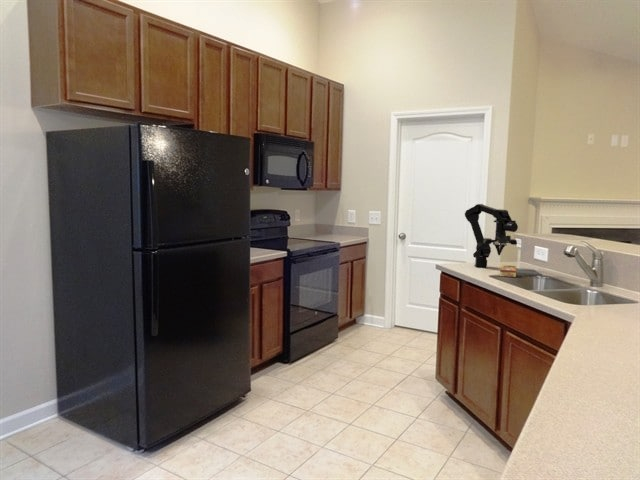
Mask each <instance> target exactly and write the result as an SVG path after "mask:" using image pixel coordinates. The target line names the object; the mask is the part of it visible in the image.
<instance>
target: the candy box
mask: <svg viewBox="0 0 640 480" xmlns="http://www.w3.org/2000/svg"><path fill="white" fill-rule="evenodd" d="M516 269H517V267H516V265H505V264H502V265H500V266H499V276H500V277H506V278H507V277H509V278H516V277H517V274H516Z"/></svg>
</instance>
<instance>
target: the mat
mask: <svg viewBox="0 0 640 480" xmlns="http://www.w3.org/2000/svg"><path fill="white" fill-rule="evenodd" d="M516 275H531V276H533V275H534V276H543V274H542V273H541V272H539V271H537V270H535V269H528V268H527V269H526V268H523V269H522V268H516Z"/></svg>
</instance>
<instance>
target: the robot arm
mask: <svg viewBox="0 0 640 480" xmlns="http://www.w3.org/2000/svg"><path fill="white" fill-rule="evenodd" d="M481 213H485V214H488V215H491V216H492V217H493V218H494V220H493V223H496V225H495V232H494V233H495V237H494V239H492V238H490V237H489V238H488V237H487V238H486V237H484V235H483V232H482V229H481V225H480V223H479V219H480V214H481ZM464 217H465V219H466V221H468V222H469V224H470V226H471V228H472V233H473V235H474V237H475V239H474V240H475V241H476V247H475V249H476V251H475V252H474V253H473V254H472V255H473V258H475V259H474V260H475V261H474V267H475V268H484V269H485V268H488V267H487V266H488V260H487V258H489V257H490V255H491V252H492V250H491V249H492V248H491V246H490V245H491V244H492V245H493V246H495V249H496V252H497V256H501V253H502V252H503V250H504V248H505V247H506V246H507V245H508V244H510V245H515V246H516V245H518V241H517V240H516V239H515V238H512V237H511V235H507V234H506V233H507V232H512V233H515V232H517V231H518V229H519V226H518V223H517V221H516V220H512V218H511V216H510V214H509V211H508V210H507V209H500V208H493V207H491V206H487V205H485V204H483V203H478V204H475V205H474V206H472V207H470V208H468V209H467V210H465V212H464Z"/></svg>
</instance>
